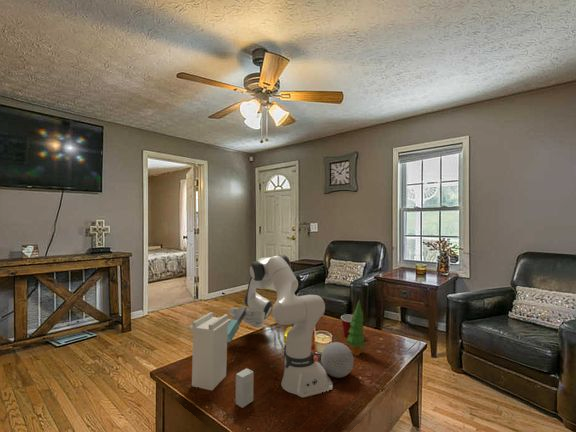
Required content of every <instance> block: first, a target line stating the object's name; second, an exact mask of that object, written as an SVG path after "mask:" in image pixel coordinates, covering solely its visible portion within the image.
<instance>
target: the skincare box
mask: <svg viewBox="0 0 576 432" xmlns="http://www.w3.org/2000/svg"><path fill="white" fill-rule="evenodd" d="M254 375H255V374H254V371H253V370H251V369H249V368H247V367H246V368H245V369H242V370H240V371H239V372H237V373H235V405H237V406H238V407H240V408H242V409H243V408H245V407H246V406H247V405H249V404H250V403H252V402H254V380H255V379H254Z"/></svg>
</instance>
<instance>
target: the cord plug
mask: <svg viewBox="0 0 576 432" xmlns="http://www.w3.org/2000/svg"><path fill="white" fill-rule="evenodd" d="M247 309H248V308H247V306H243V305H240V306H239V308H238V311H237V312H236V314H235V315H234V316H232V318H230V319H231V322H230V324H229V325H228V326H227V343H231V342H232V341H233V339H234V337H235V335H236V333H237V332H238V331H239V329H240V325H241V323H242V321H244V320H243V318H244V316H245V315H246V313H244V312H245V310H247Z"/></svg>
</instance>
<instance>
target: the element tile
mask: <svg viewBox="0 0 576 432" xmlns="http://www.w3.org/2000/svg"><path fill="white" fill-rule="evenodd" d="M292 327H293V326H288V327H286V329H285V332H284V333H283V342H284V343H286V336H287V333H288V332H289V331H290V330H291V329H292Z"/></svg>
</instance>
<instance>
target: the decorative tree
mask: <svg viewBox="0 0 576 432" xmlns="http://www.w3.org/2000/svg"><path fill="white" fill-rule="evenodd" d="M352 315H353V317H352V321H351V323H350V325H351V327H350V329H349V331H348V332H350V334H349V336H348V338H347V337H346V340H347V344H348V345H349V346H350V347H352V349H350V351H351V352H352V353H353V354H360V353H361V354H362V350H361V348H362V347H364V346H365V342H364V341H365V336H364V335H363V333H364V324H363V323H364V322H365V320H364V312H363V309H362V305H361V301H360V298H359V300H358V301H357V304H356V307H355V310H354V312H353V313H352ZM353 354H352V355H353Z"/></svg>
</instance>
